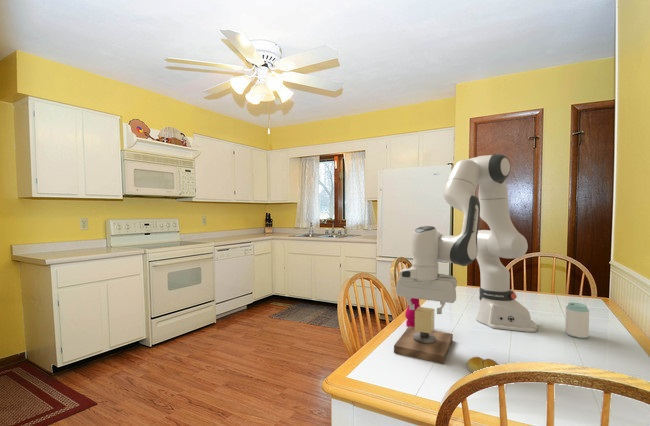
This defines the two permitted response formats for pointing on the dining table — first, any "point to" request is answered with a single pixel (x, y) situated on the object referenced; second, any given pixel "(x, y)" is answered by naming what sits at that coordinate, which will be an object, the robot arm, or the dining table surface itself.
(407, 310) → the pepper mill
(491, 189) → the robot arm
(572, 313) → the can
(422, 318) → the wooden cube block
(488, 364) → the bread roll
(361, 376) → the dining table surface
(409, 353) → the walnut board
